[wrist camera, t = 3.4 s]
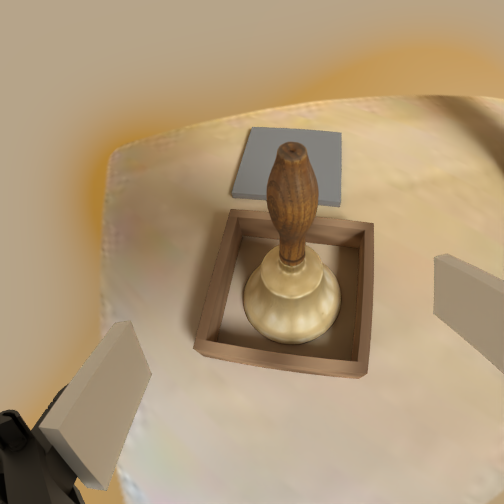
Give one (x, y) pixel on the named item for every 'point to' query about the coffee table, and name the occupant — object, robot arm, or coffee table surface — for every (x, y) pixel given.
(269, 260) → the hand bell
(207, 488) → the coffee table surface
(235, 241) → the brown wooden square frame
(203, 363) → the coffee table surface
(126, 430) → the robot arm
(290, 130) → the grey rubber pad
